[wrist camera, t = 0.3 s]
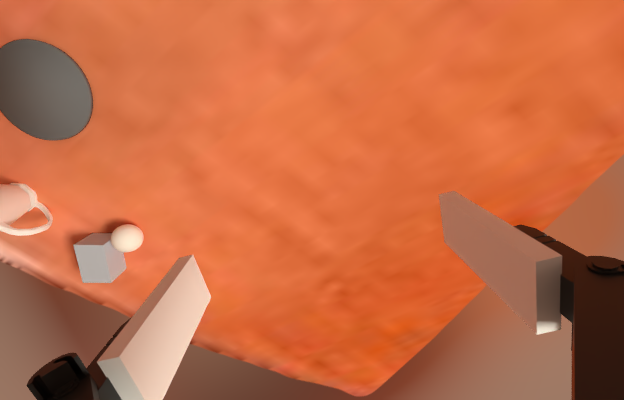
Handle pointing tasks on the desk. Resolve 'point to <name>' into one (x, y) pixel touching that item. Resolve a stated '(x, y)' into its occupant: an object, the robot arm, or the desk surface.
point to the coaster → (43, 90)
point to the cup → (19, 208)
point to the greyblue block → (99, 259)
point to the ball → (127, 238)
